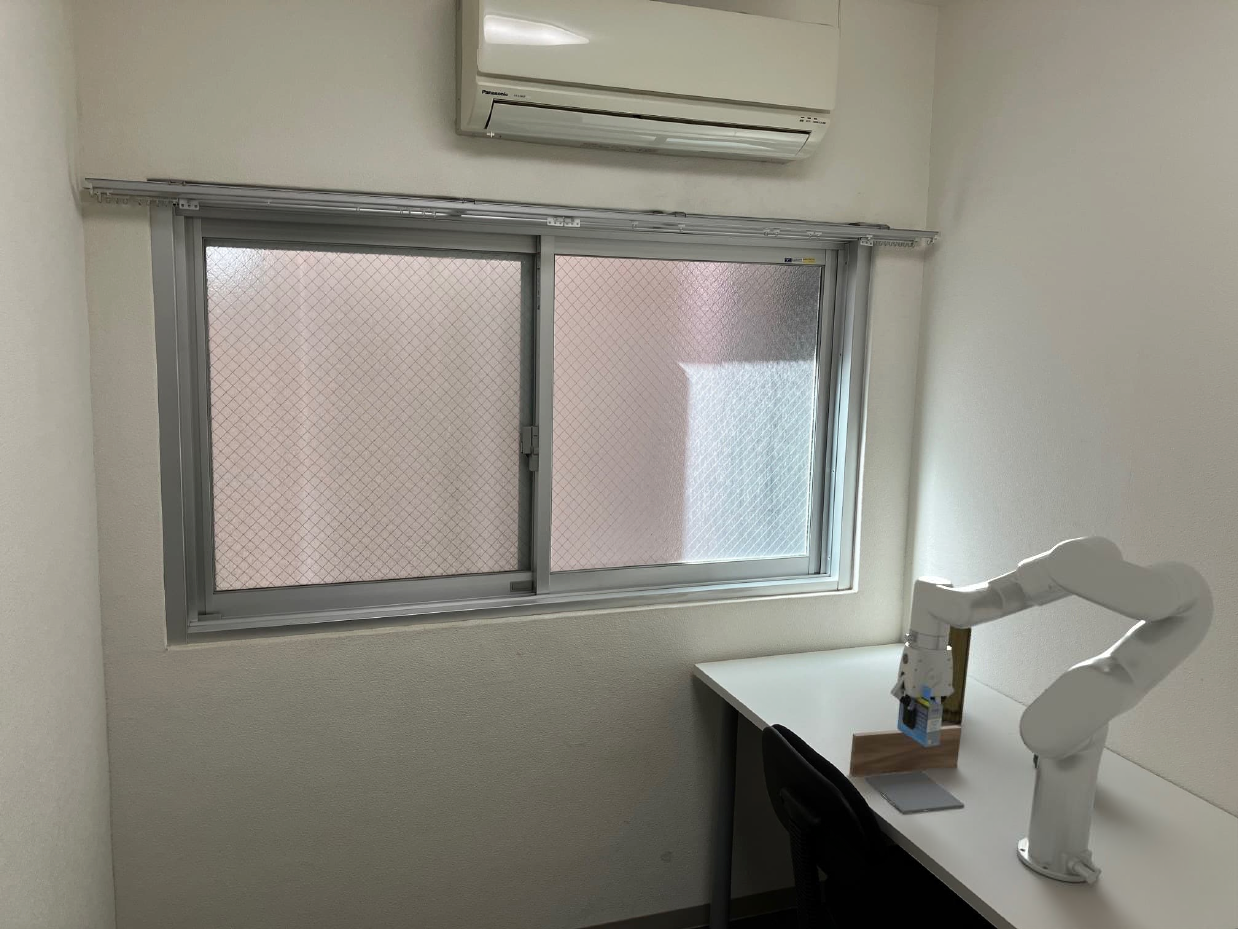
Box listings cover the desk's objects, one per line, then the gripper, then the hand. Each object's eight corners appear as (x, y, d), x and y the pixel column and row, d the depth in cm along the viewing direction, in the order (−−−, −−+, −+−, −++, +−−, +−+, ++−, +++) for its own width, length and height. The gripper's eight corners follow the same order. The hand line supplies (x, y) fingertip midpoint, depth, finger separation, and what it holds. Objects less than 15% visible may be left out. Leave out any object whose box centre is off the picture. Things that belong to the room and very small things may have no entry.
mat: (963, 806, 174) (964, 804, 174) (902, 813, 171) (902, 811, 171) (921, 773, 188) (921, 771, 188) (864, 779, 184) (864, 776, 184)
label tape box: (940, 745, 174) (947, 687, 173) (924, 748, 173) (931, 688, 171) (910, 727, 183) (917, 670, 181) (895, 729, 181) (901, 672, 179)
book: (928, 698, 230) (937, 606, 227) (949, 701, 229) (959, 609, 226) (937, 724, 214) (948, 625, 211) (961, 727, 213) (972, 628, 210)
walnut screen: (957, 766, 192) (961, 727, 191) (852, 776, 185) (856, 736, 184) (953, 764, 193) (957, 725, 192) (849, 773, 186) (853, 733, 185)
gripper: (902, 647, 169) (893, 736, 172) (976, 643, 174) (965, 731, 176) (881, 634, 176) (872, 720, 179) (952, 631, 181) (942, 715, 183)
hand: (918, 724), depth 177 cm, fingers closed on label tape box, 4 cm apart
